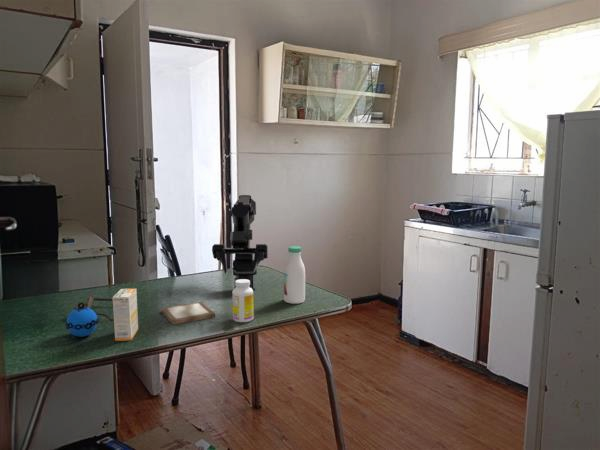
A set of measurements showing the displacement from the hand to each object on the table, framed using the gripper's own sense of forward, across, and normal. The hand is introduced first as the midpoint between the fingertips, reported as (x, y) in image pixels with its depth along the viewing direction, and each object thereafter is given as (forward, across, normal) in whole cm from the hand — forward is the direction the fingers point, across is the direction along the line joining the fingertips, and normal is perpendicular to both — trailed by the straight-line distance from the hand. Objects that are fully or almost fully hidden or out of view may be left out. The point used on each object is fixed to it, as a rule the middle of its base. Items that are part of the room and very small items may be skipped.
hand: (239, 273), depth 156 cm
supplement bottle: (+15, +2, +3) cm, 16 cm away
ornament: (+24, -44, -6) cm, 50 cm away
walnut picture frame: (+12, -17, +7) cm, 22 cm away
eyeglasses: (+11, -45, +9) cm, 47 cm away
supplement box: (+24, -31, -6) cm, 40 cm away
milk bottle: (+3, +19, +17) cm, 26 cm away
